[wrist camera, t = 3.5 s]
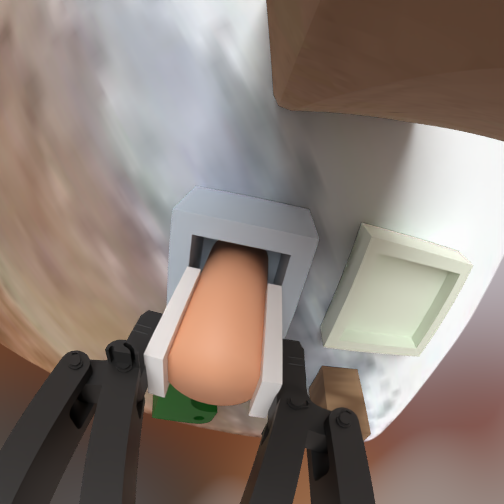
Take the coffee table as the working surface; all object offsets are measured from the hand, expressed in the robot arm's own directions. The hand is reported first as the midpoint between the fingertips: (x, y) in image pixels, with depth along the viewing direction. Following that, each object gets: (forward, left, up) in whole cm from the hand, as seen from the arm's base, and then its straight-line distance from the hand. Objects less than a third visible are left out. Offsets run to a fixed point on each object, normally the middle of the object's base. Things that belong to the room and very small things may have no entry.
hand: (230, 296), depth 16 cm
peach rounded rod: (0, 0, -4) cm, 4 cm away
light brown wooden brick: (+12, -13, -6) cm, 19 cm away
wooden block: (+4, +16, -6) cm, 18 cm away
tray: (+13, -1, -6) cm, 14 cm away
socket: (0, 0, -6) cm, 6 cm away
